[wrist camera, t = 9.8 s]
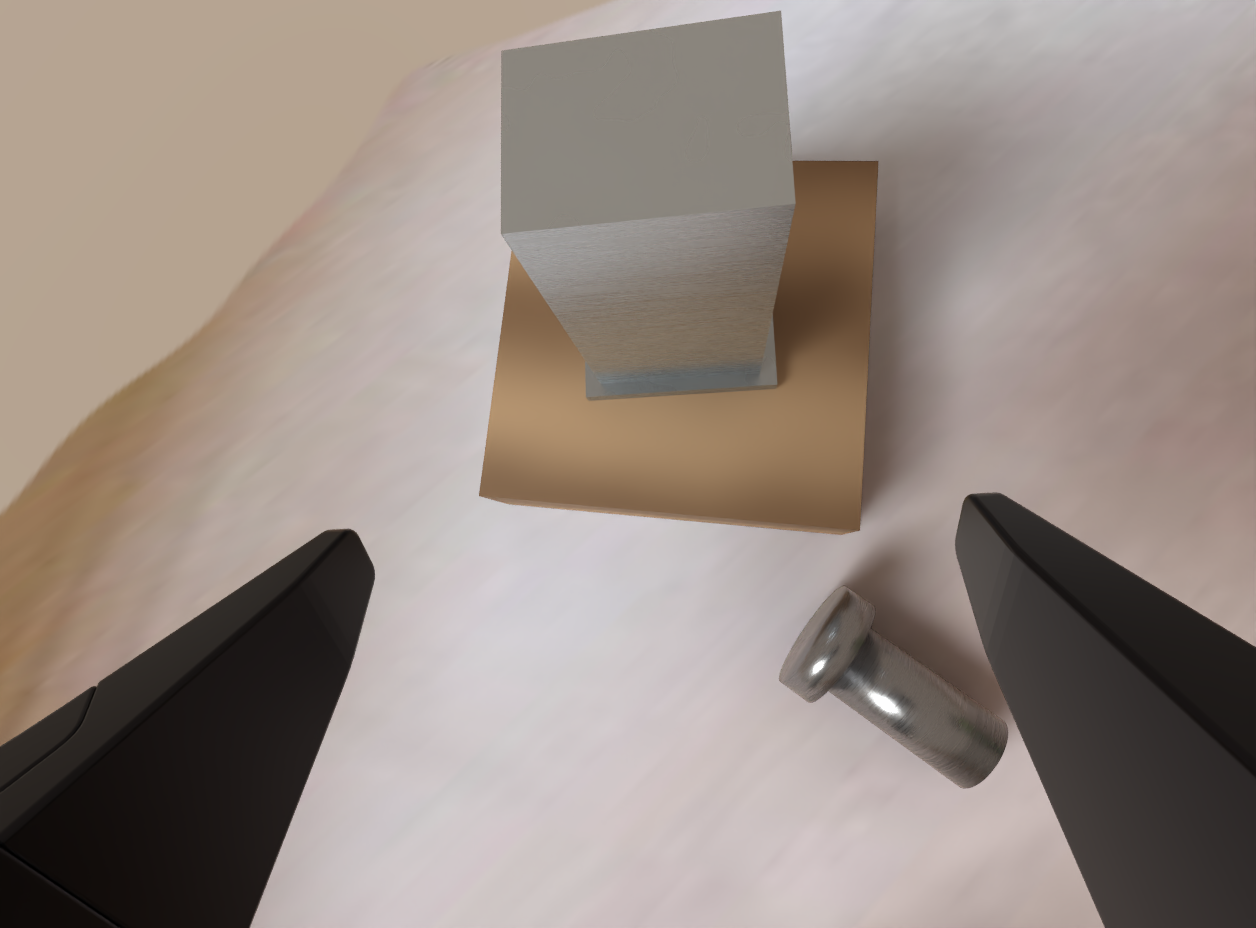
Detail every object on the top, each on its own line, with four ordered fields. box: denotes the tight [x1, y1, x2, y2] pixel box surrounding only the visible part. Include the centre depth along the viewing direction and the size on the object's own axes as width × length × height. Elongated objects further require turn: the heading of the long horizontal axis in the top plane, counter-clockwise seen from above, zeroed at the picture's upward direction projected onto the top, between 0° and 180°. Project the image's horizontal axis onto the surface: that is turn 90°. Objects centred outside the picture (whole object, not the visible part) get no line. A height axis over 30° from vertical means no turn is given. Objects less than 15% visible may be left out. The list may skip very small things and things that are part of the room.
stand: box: [479, 161, 878, 535], centre depth 22 cm, size 12×12×3 cm
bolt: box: [779, 586, 1008, 788], centre depth 19 cm, size 6×4×4 cm, turn 55°
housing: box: [501, 11, 796, 401], centre depth 16 cm, size 4×6×10 cm
